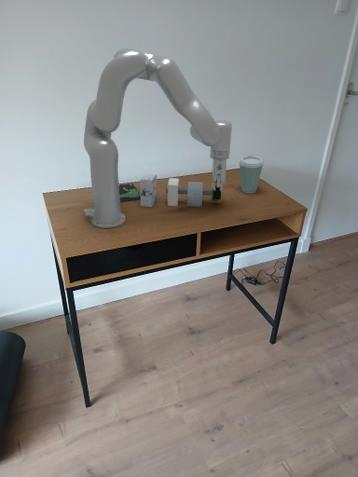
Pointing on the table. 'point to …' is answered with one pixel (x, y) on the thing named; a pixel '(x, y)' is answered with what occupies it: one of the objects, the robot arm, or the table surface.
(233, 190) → the table surface
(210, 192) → the sliding bolt
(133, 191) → the disk drive
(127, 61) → the robot arm
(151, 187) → the ink box
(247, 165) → the disposable coffee cup
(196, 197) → the block
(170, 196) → the white rectangular block
